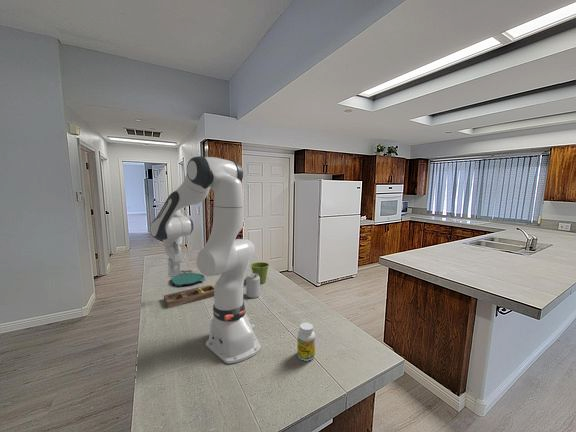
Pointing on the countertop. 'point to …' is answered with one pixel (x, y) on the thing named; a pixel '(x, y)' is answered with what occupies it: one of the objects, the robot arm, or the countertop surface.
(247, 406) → the countertop surface
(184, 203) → the robot arm
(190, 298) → the walnut rail
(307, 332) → the supplement bottle
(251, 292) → the can
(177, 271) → the steel block
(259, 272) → the plant pot
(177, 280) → the cutlery set
